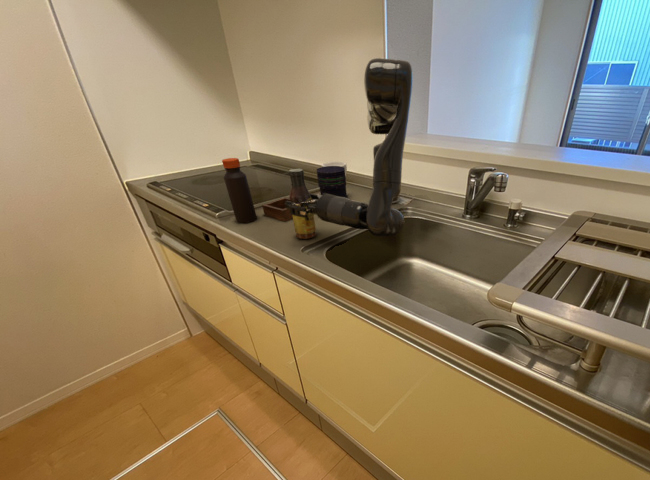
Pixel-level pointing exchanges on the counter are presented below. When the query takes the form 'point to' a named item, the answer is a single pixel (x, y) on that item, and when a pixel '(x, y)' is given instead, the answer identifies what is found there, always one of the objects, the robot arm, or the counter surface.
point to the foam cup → (335, 165)
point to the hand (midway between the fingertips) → (297, 200)
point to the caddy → (277, 210)
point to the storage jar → (332, 180)
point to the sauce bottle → (297, 194)
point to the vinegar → (238, 191)
